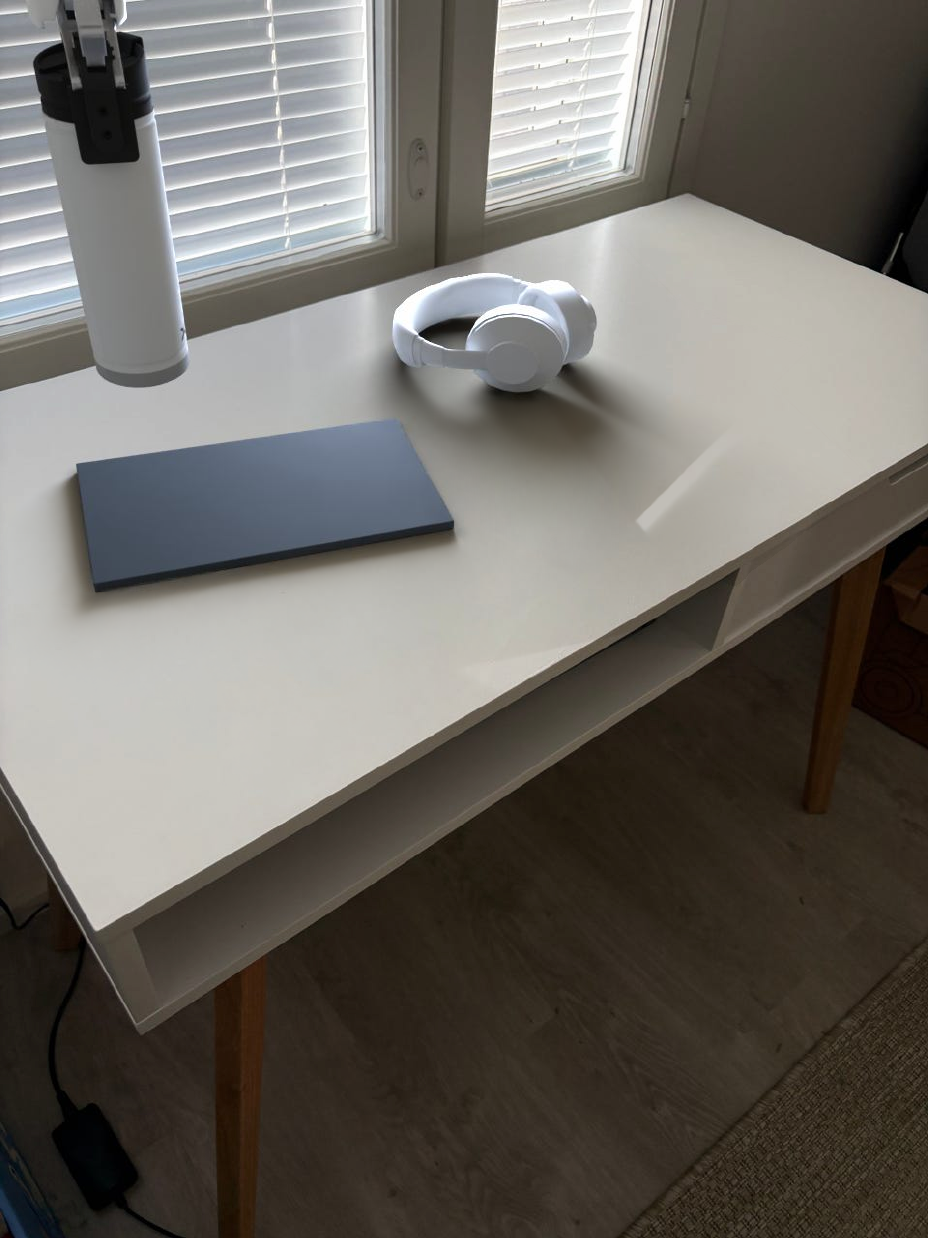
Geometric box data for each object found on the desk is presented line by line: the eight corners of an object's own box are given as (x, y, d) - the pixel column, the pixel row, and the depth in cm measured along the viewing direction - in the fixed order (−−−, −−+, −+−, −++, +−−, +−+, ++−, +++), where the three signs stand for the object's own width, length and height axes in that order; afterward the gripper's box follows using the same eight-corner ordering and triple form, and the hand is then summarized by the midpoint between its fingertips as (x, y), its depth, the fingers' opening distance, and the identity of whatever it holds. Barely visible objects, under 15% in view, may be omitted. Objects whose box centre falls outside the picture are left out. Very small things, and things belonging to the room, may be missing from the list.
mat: (95, 592, 74) (92, 584, 74) (77, 471, 85) (75, 463, 84) (454, 528, 82) (454, 520, 81) (396, 424, 93) (396, 417, 92)
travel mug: (212, 361, 71) (172, 43, 58) (142, 399, 67) (82, 65, 53) (148, 334, 73) (96, 22, 60) (77, 369, 69) (3, 43, 56)
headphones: (624, 348, 104) (466, 314, 114) (627, 273, 99) (462, 244, 109) (528, 422, 93) (361, 377, 103) (526, 341, 88) (352, 302, 98)
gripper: (-49, -274, 53) (32, 98, 65) (-53, -249, 41) (46, 200, 53) (101, -266, 55) (152, 93, 67) (138, -240, 43) (191, 190, 55)
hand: (105, 137), depth 60 cm, fingers closed on travel mug, 6 cm apart
